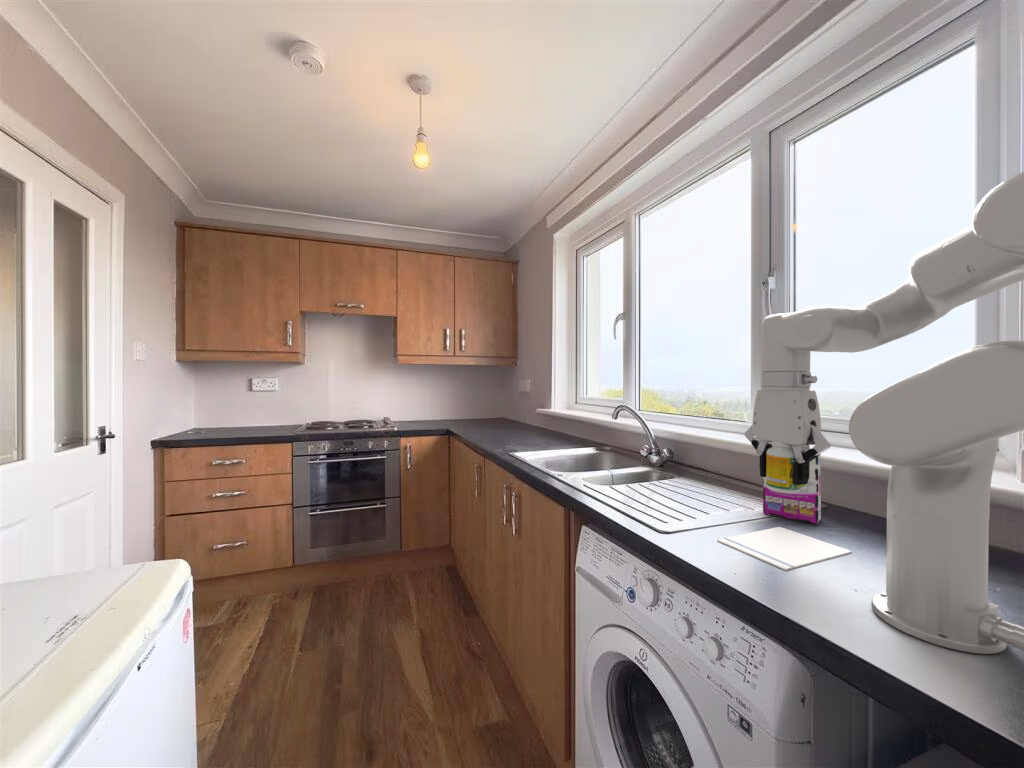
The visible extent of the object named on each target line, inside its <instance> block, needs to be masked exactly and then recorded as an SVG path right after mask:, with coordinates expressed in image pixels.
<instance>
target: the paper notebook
mask: <svg viewBox="0 0 1024 768" xmlns="http://www.w3.org/2000/svg"><path fill="white" fill-rule="evenodd" d="M716 541H717V542H718V543H721V544H724V545H726V546H728V547H730V548H732V549H735V550H737V551H740V552H742V553H744V554H746V555H749V556H751V557H753V558H755V559H757V560H760V561H762V562H765V563H767V564H769V565H772V566H774V567H776V568H779V569H781V570H783V571H786V572H787V571H789V570H792V569H796V568H800V567H804V566H808V565H812V564H814V563H815V564H816V563H818V562H823V561H827V560H830V559H834V558H837V557H842V556H845V555H850V554H852V553H853V551H852V550H849V549H847V548H844V547H840V546H838V545H835V544H832V543H829V542H826V541H823V540H819V539H818V538H814V537H811V536H809V535H805V534H802V533H799V532H796V531H793V530H790V529H788V528H785V527H781V526H776V527H772V528H768V529H767V528H766V529H762V530H757V531H753V532H748V533H743V534H737V535H734V536H727V537H722V538H718V539H717V540H716Z"/></svg>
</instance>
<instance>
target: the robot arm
mask: <svg viewBox="0 0 1024 768" xmlns="http://www.w3.org/2000/svg"><path fill="white" fill-rule="evenodd" d="M908 264H909V265H908V274H909V276H908V278H907V279H906V280H905V281H904V282H903V283H901V285H900V286H897V288H895V289H893V290H892V291H890V292H888V293H887V294H884V295H882V296H880V297H878V298H876V299H874V300H872V301H870V302H868V303H865V304H863V305H861V306H858V307H852V306H839V305H815V306H810V307H807V308H804V309H801V310H798V311H794V312H785V313H776V314H775V313H774V314H770V315H768V316H766V317H764V318H763V320H762V322H761V330H760V331H761V332H760V333H761V334H760V339H761V341H760V342H761V343H760V344H761V345H760V388H758V389H757V391H756V395H755V399H754V405H753V414H752V425H751V426H749V428H748V429H747V430H746V431H745V432H744V437H745V438H746V439H747V440H748V441H749V443H751V446H753V448H754V450H755V452H756V454H757V456H759V476H760V477H762V478H763V477H766V459H767V456H766V455H767V450H768V449H769V448H772V447H773V445H771V442H772V441H778V442H781V443H784V444H786V445H792V447H793V451H794V454H795V457H796V460H797V462H794V463H793V484H794V485H803V484H807V483H808V480H809V470H810V462H812V461H813V459H815V458H816V457H817V456H819V455H820V456H821V454H822V453H824V452H827V450H829V449H830V448H831V447H832V445H831V443H830V442H829V441H828V440H827V438H826V437H825V436H824V435H823V434H822V423H821V412H820V403H819V400H818V395H817V392H816V389H811V385H812V384H816V383H817V381H818V377H817V375H812V371H811V352H818V353H820V352H821V353H851V354H852V353H860V352H864V351H868V350H871V349H875V348H878V347H880V346H883V345H886V344H888V343H891V342H893V341H896V340H899V339H901V338H904V337H906V336H909V335H912V334H914V333H916V332H918V331H920V330H922V329H924V328H926V327H927V326H929V325H931V324H932V323H934V322H935V321H937V320H939V319H940V318H943V317H944V316H946V315H947V314H948V313H949V312H951V311H952V310H954V309H955V308H957V307H960V306H962V305H965V304H966V303H969V302H972V301H974V300H977V299H979V298H981V297H984V296H986V295H989V294H991V293H994V292H996V291H998V290H1001V289H1004V288H1006V287H1009V286H1012V285H1014V284H1017V283H1018V282H1019V283H1020V282H1021V281H1023V280H1024V171H1022V172H1020V173H1017V174H1014V175H1013V176H1010V177H1009V178H1007V179H1005V180H1004V181H1002V182H1000V183H999V184H997V185H996V186H995V187H993V188H992V189H990V191H989V192H988V193H986V194H985V195H984V197H982V199H981V200H980V201H979V203H977V205H976V207H975V209H974V212H973V214H972V218H971V225H969V226H968V227H966V228H964V229H963V230H960V231H958V232H957V233H955V234H953V235H951V236H949V237H947V238H945V239H943V240H941V241H940V242H937V243H935V244H934V245H931V246H930V247H927V248H925V249H923V250H922V251H920V252H917V254H916V255H914V256H913V257H912V259H911V260H910V262H909V263H908ZM1022 431H1024V340H1000V341H994V342H993V341H992V342H988V343H987V342H986V343H983V344H979V345H975V346H972V347H970V348H966V349H965V350H961V351H959V352H956V353H953V354H952V355H949V356H948V357H946V358H943V359H941V360H940V361H938V362H935V363H933V364H931V365H929V366H928V367H925V368H924V369H921V370H920V371H918V372H915V373H914V374H912V375H909V376H907V377H905V378H903V379H901V380H900V381H898V382H895V383H893V384H892V385H889V386H887V387H885V388H883V389H882V390H880V391H877V392H876V393H874V394H872V395H870V396H869V397H867V398H866V399H864V400H863V401H861V403H859V404H858V405H857V406H856V408H855V409H854V410H853V413H852V414H851V416H850V418H849V423H848V432H849V437H850V440H851V441H852V443H853V445H854V446H855V448H856V449H857V450H858V451H859V452H860V453H862V454H863V455H864V456H866V457H867V458H869V459H871V460H873V461H874V462H877V463H880V464H882V465H883V464H884V465H887V466H891V467H890V472H889V475H888V483H887V491H886V492H887V495H886V496H887V498H886V555H885V556H886V557H885V559H886V565H885V567H886V568H885V570H886V572H885V573H886V575H885V579H886V580H885V582H886V583H885V591H883V592H879V593H876V594H874V595H873V596H871V609H872V610H873V612H874V613H875V614H876V615H877V616H878V617H879V618H880V619H882V620H883V621H885V622H886V623H888V624H889V625H891V626H892V627H894V628H895V629H897V630H899V631H901V632H903V633H905V634H907V635H910V636H912V637H915V638H917V639H919V640H922V641H924V642H927V643H931V644H934V645H937V646H940V647H943V648H947V649H951V650H955V651H960V652H965V653H971V654H980V655H982V654H983V655H990V654H991V655H992V654H998V653H1002V652H1004V651H1005V650H1006V648H1007V647H1008V646H1007V645H1011V647H1014V648H1015V649H1019V650H1021V651H1023V652H1024V626H1022V625H1019V624H1017V623H1012V622H1009V621H1006V620H1004V617H1003V616H1000V615H999V605H998V604H995V603H993V602H989V543H990V542H989V540H990V539H989V537H990V536H989V535H990V533H989V532H990V531H989V530H990V525H989V524H990V515H991V514H990V510H991V508H990V506H991V502H990V501H991V488H992V487H991V485H992V477H993V471H994V467H995V462H996V457H997V454H998V453H997V452H998V448H999V439H1000V438H1003V437H1006V436H1010V435H1012V434H1015V433H1019V432H1022ZM811 445H812V446H813V447H812V448H811V447H810V446H811Z"/></svg>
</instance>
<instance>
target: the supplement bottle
mask: <svg viewBox="0 0 1024 768" xmlns="http://www.w3.org/2000/svg"><path fill="white" fill-rule="evenodd" d="M771 445H773V447H772V448H769V449H768V450H767V455H766V456H767V459H766V486H767V488H768V489H770V490H772V491H776V492H781V493H799V492H800V491H801V485H794V484H793V463H794V462H797V460H796V457H795V454H794V451H793V447H792V445H786V444H784V443H781V442H778V441H772V442H771Z"/></svg>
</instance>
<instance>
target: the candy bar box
mask: <svg viewBox="0 0 1024 768" xmlns="http://www.w3.org/2000/svg"><path fill="white" fill-rule="evenodd" d="M821 476H822V475H821V454H820V455H819V456H817V457H816V458H815V459H813V461H812V462H810V470H809V480H808V483H807V484H803V485H801V491H800V492H799V493H781V492H776V491H772V490H770V489H768V488H767V486H766V477H762V513H763V514H764V515H767V516H773V517H777V518H783V519H788V520H793V521H797V522H803V523H804V522H805V523H810V524H815V525H819V522H820V521H821V518H822V508H821V507H822V505H821V504H822V503H821V502H822V500H821V499H822V495H821V493H822V491H821V489H822V487H821V486H822V485H821V480H822V479H821Z"/></svg>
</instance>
